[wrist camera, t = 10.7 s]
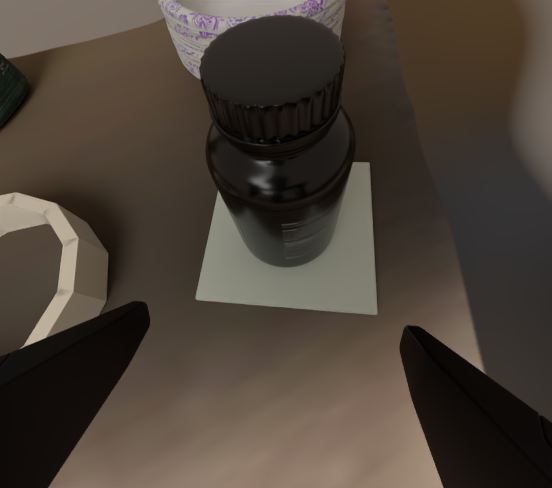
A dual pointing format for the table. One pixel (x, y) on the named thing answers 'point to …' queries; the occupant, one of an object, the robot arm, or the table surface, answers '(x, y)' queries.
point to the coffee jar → (10, 88)
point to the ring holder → (63, 262)
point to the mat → (306, 278)
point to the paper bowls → (235, 20)
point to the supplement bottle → (279, 134)
